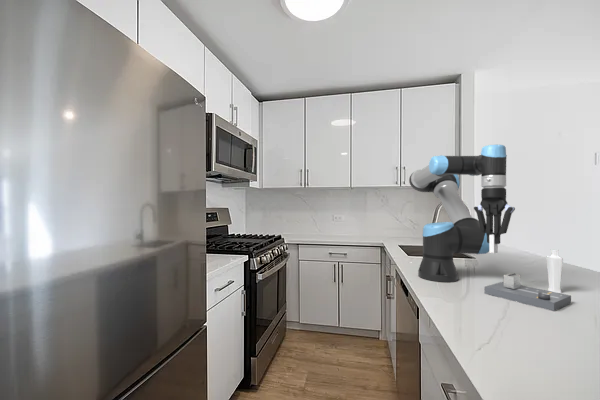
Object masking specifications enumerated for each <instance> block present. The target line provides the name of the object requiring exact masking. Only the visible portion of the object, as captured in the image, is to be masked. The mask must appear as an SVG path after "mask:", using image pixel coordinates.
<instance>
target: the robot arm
mask: <svg viewBox="0 0 600 400" xmlns="http://www.w3.org/2000/svg"><path fill="white" fill-rule="evenodd" d="M507 156H508V155H507V149H506V146H505V145H504V144H489V145H485V146H483V147H481V152H480V154H479V155H442V154H441V155H435V156H434V155H433V156H432V157H430V160H429V163H428V165H426V166H425V167H423V168H422V169H417V170H415V171H413V172H412V173H411V174H410V175H409V179H408V181H409V185H410V186H411V188H412V189H413V190H415V191H417V192H421V193H433V196H434V197H436V198H437V199H439V201H440V202H441V205H442V206H443V208H444V210H445V213H446V215H447V217H448V218H449V221H444V222H443V221H441V222H440V221H439V222H431V223H426V224H425V225H424V226H423V228H422V229H423V230H422V259H421V262H420V265H419V267H418V270H417V272H418V273H417V274H418V277H419V278H421V279H424V280H428V281H433V282H440V283H451V282H452V283H454V282H457V281H458V280H459V279H458V278H459V275H458V271H457V268H456V266H455V262H454V254H472V255H473V254H474V255H475V254H476V255H484V254H488V253H490V254H497V253H498V247H499V246H498V245H501V235H504V234H507V232H508V229H509V225H510V221H511V218H512V214H513V213H514V212H515V210H516V208H515V207H514V206H511V205H509V204H508V201H507V189H506V188H505V187H507ZM459 175H462V176H466V175H467V176H468V175H469V176H471V177H472V176H473V177H474V176H477V177H478V176H480V175H481V185H480V186H481V187H482V189H481V193H480V195H481V201H480V204H479V205H477V206H474V207H473V210H474V211H475V212H476V216H477V218H475V217H473V216H472V215H471V213H470V211H469V210H468V207H467V206H466V204H465V202H464V200H462V197H461V196H460V194H459V192H458V190H459V188H460V183H461V182H460V178H459ZM483 210H484V211H483ZM503 211H505V212H504V214H503V217H502V212H503ZM484 212H485V215H484Z"/></svg>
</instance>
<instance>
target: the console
mask: <svg viewBox="0 0 600 400" xmlns="http://www.w3.org/2000/svg"><path fill="white" fill-rule="evenodd" d="M483 291H484V294H485V295H488V296H492V297H497V298H500V299H501V298H502V299H505V300H509V301H513V302H516V301H517V302H516V303H521V304H524V305H528V306H533V307H536V308H541V309H544V310H548V311H552V312H555V311H557V310H560V309H562V308H564V307H566V306H568V305H570V304H572V295H569V294H565V293H556V292H552V291H548V289H547V290H546V289H540V288H537V287H532V286H527V285H522V284H520V287H518V288H515V289H512V288H508V287H504V281H500V282H496V283H493V284H489V285H486V286H484V290H483Z"/></svg>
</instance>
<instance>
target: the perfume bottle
mask: <svg viewBox="0 0 600 400" xmlns="http://www.w3.org/2000/svg"><path fill="white" fill-rule="evenodd" d="M550 251H551V254H550V255H547V256H546V267H547V268H546V269H547V277H548V278H547V279H548V288H547V291H552V292H556V293H561V294H563V292H562V290H561V287H562V286H561V285H562V272H563V261H564V258H563V257H561V256H560V255H559V249H550Z"/></svg>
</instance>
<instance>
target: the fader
mask: <svg viewBox="0 0 600 400" xmlns="http://www.w3.org/2000/svg"><path fill="white" fill-rule="evenodd" d="M503 282H504V287H508V288H512V289H515V288H518V287H520V285H521V275H520V274H517V273H515V272H514V273H506V274H503Z"/></svg>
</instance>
